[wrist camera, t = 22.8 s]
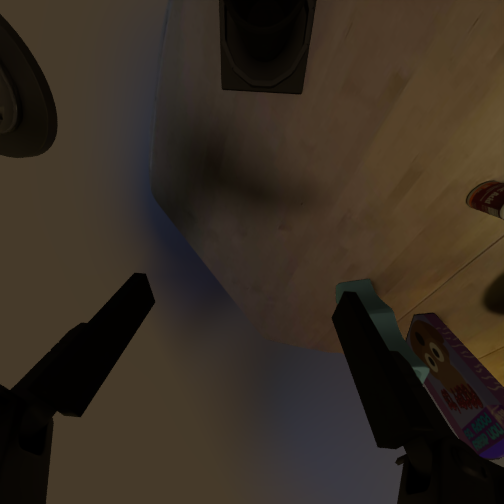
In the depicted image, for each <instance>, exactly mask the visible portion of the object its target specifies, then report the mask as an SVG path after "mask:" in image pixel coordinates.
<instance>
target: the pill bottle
mask: <svg viewBox="0 0 504 504" xmlns="http://www.w3.org/2000/svg"><path fill="white" fill-rule="evenodd" d="M467 204H468V205H469V206H470V207H471V208H474V209H477V210H480V211H482V212H485V213H488V214H490V215H493V216H496V217H498V218H501V219H503V220H504V183H499V182H494V181H492V182H486V183H483V184H481V185H479V186H478V187H476V188H475V189H474V190H473V191H472V192H471V193H470V194H469V196H468V199H467Z"/></svg>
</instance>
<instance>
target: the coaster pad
mask: <svg viewBox="0 0 504 504" xmlns="http://www.w3.org/2000/svg"><path fill="white" fill-rule="evenodd" d="M315 6H316V0H306V1H305V3H304V5H303V8H302V10H301V12H300V14H299V16H298V18H297V20H296V22H295V24H294V26H293V28H292V30H291V33H290V35H289V37H288V39H287V41H286V43H285V45H284V47H283V49H282V51H281V52H280V54H279V55H278V56H277V57H276V58H274V59H273V60H271V61H269V62H261V61H258V60H256V59H255V58H253V57H252V55H251V54H250V53H249V51H248V49H247V47H246V45H245V43H244V41H243V39H242V37H241V35H240V33H239V31H238V29H237V27H236V25H235V23H234V21H233V19H232V17H231V15H230V13H229V11H228V9H227V7H226V5H225V3H224V1H223V0H219V13H220V45H221V81H222V89H223V90H236V91H253V92H270V93H287V94H302V90H303V84H304V77H305V71H306V64H307V58H308V51H309V45H310V38H311V32H312V26H313V19H314V13H315Z"/></svg>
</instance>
